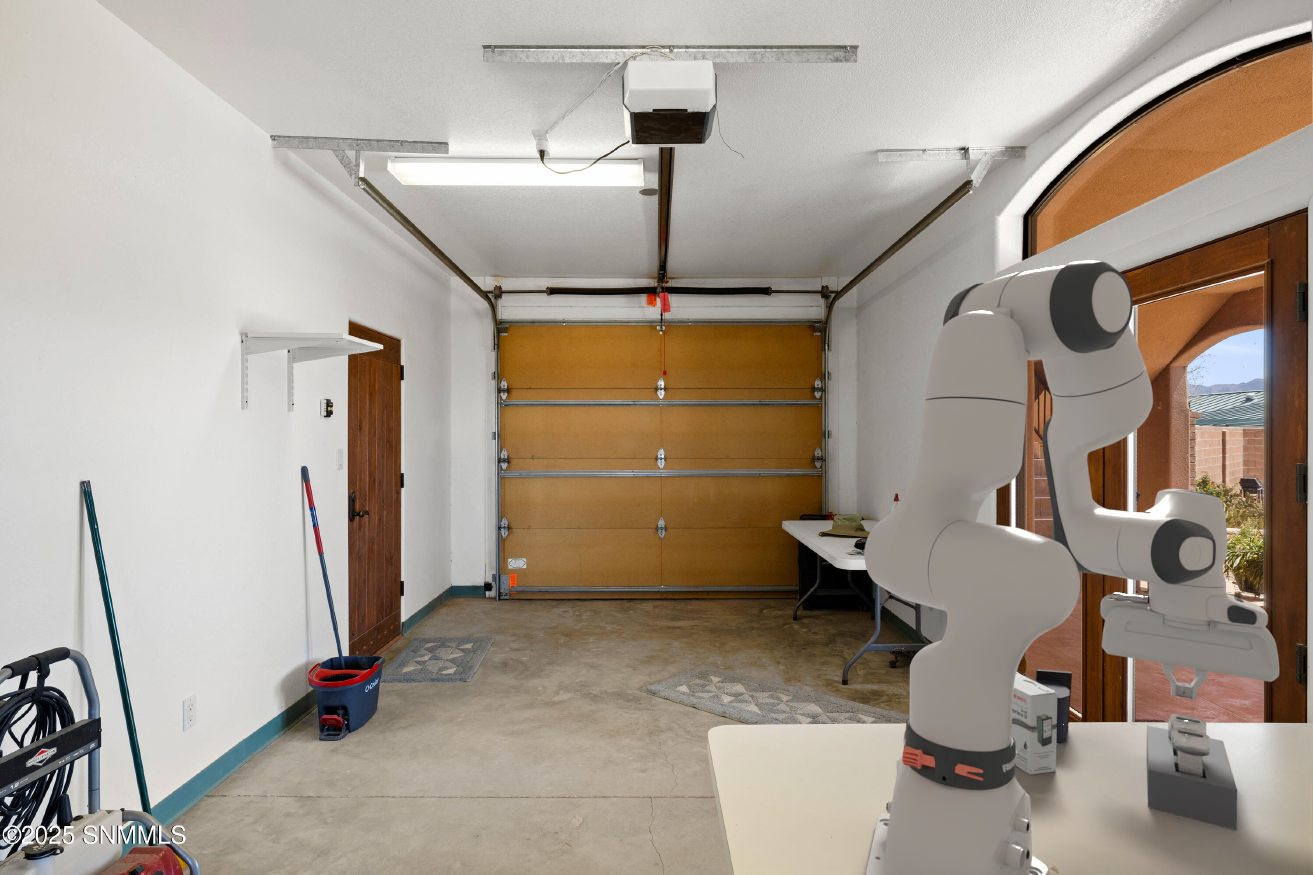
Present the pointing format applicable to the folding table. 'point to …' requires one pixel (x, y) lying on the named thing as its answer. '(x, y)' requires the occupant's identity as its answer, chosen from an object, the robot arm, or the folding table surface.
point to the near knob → (1190, 749)
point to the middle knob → (1187, 723)
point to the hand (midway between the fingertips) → (1183, 696)
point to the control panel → (1190, 782)
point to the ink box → (1034, 725)
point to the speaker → (1058, 697)
